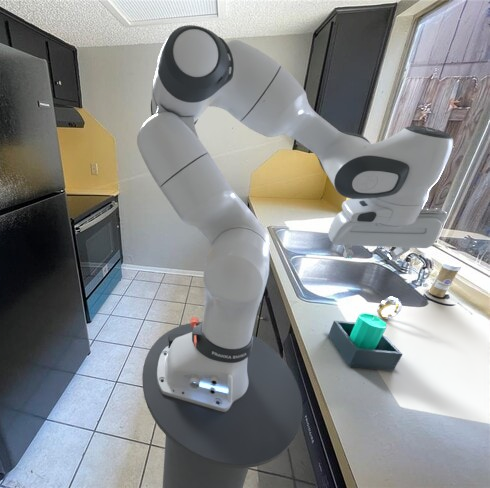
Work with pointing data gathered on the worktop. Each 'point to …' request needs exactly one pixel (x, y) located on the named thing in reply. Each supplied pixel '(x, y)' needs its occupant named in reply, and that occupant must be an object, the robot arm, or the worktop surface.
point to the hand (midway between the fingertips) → (368, 257)
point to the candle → (367, 331)
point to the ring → (393, 301)
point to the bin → (363, 358)
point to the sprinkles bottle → (444, 279)
